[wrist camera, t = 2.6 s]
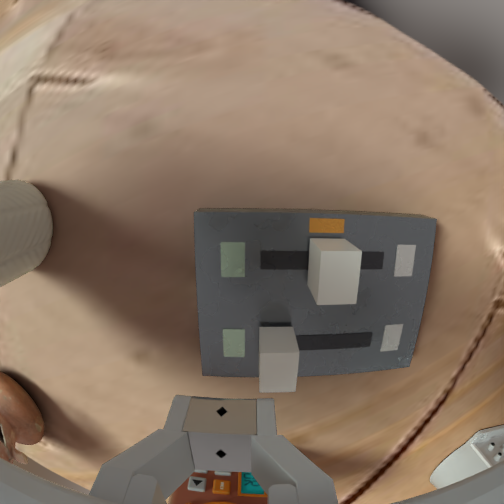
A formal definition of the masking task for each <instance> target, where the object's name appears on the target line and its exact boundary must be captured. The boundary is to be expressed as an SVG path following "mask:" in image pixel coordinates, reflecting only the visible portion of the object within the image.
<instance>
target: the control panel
mask: <svg viewBox="0 0 504 504" xmlns="http://www.w3.org/2000/svg"><path fill="white" fill-rule="evenodd" d="M267 500H268V495H267V494H266V492H265V491H264V490H263V489H262V487H261V486H260V485H259V483H258V482H257V481H256V479H255V478H254V477H253V475H252V474H251V472H231V471H210V470H195V471H194V472H193V473H192V474H191V475H190V476H189V477H188V478H187V479H186V480H185V481H184V482H183V483H182V484H181V485H180V486H179V487H178V488H177V489H176V490H175V491H174V492H173V493H172V494H171V495H170V496H169V501H168V504H267Z"/></svg>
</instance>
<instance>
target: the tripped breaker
mask: <svg viewBox="0 0 504 504" xmlns="http://www.w3.org/2000/svg"><path fill="white" fill-rule="evenodd" d="M361 256H362V251H361V250H360V249H358V248H357V247H355V246H354V245H353V244H351V243H350V242H349V241H347V240H346V239H329V238H310V246H309V265H308V281H307V285H308V287H309V289H310V291H311V293H312V295H313V297H314V300H315V302H316V304H317V305H339V304H356V301H357V293H358V285H359V276H360V267H361Z"/></svg>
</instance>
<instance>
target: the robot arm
mask: <svg viewBox="0 0 504 504" xmlns="http://www.w3.org/2000/svg"><path fill="white" fill-rule="evenodd" d="M195 470H210V471H231V472H251V474H252V475H253V477H254V478H255V479H256V481H257V482H258V483H259V485H260V486H261V487H262V489H263V490H264V491H265V492H266V494H267V495H268V500H267V504H338V500H337V496H336V491H335V487H334V483H333V479H332V478H331V477H329V476H328V475H327V474H326V473H325V472H323V471H322V470H321V469H320V468H319V467H317V466H316V465H315V464H314V463H313V462H312V461H310V460H309V459H308V458H307V457H306V456H305V455H304V454H302V453H301V452H300V451H299V450H298V449H297V448H296V447H295V446H294V445H292V444H291V443H290V442H289V441H288V440H287V439H286V438H285V437H284V436H283V435H277V428H276V417H275V405H274V399H273V398H265V399H257V400H256V399H223V398H209V397H196V396H183V395H176V396H175V397H174V399H173V402H172V405H171V408H170V411H169V414H168V417H167V420H166V423H165V426H164V429H158V430H156V431H155V432H153V433H152V434H150V435H149V436H147V437H146V438H144V439H143V440H141V441H140V442H138V443H136V444H135V445H133V446H132V447H130V448H129V449H127V450H125V451H124V452H122V453H121V454H119V455H117V456H116V457H114V458H112V459H111V460H109V461H107V462H106V463H104V464H102V467H101V469H100V471H99V473H98V475H97V478H96V480H95V482H94V484H93V486H92V489H91V491H90V493H89V495H87V494H84V493H81V492H78V491H75V490H72V489H69V488H67V487H64V486H61V485H59V484H56V483H54V482H51V481H48V480H46V479H44V478H41V477H39V476H37V475H35V474H32V473H30V472H28V471H26V470H24V469H21V468H19V467H17V466H15V465H13V464H11V463H9V462H8V461H6V460H4V459H2V458H0V504H167V503H166V501H165V500H166V499H167V498H168V497H169V496H170V495H171V494H172V493H173V492H174V491H175V490H176V489H177V488H178V487H179V486H180V485H181V484H182V483H183V482H184V481H185V480H186V479H187V478H188V477H189V476H190V475H191V474H192V473H193V472H194V471H195ZM430 482H431V484H433V485H434V486H435V487H436V488H437V490H434V491H431V492H428V493H425V494H422V495H419V496H416V497H413V498H409V499H406V500H402V501H399V502H395V503H391V504H504V425H501V426H497V427H493V428H488V429H484V430H480V431H478V432H477V433H476V434H475V435H474V436H473V437H472V438H471V439H470V440H469V441H468V442H466V443H465V444H464V445H463V446H461V447H460V448H458V449H457V450H456V451H454V452H453V453H452V454H451V455H449V456H448V457H447V458H446V459H445V460H444V461H443V462H442V463H441V464H440V465H439V466H438V467H437V468H436V469H435V470H434V472H433V473H432V475H431V477H430Z"/></svg>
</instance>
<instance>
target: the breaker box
mask: <svg viewBox="0 0 504 504" xmlns="http://www.w3.org/2000/svg"><path fill="white" fill-rule="evenodd" d="M436 221H437V219H435V218H431V217H428V216H424V215H418V214H402V213H385V212H365V211H342V210H312V209H262V208H200V209H198V210H197V211H195V212H194V237H195V265H196V287H197V306H198V322H199V337H200V350H201V362H202V374H203V376H222V377H259V327H293V328H294V332H295V336H296V340H297V344H298V348H299V352H300V353H299V364H298V374H297V377H299V376H321V375H336V374H349V373H361V372H371V371H380V370H388V369H396V368H404V367H409V366H410V363H411V359H412V355H413V352H414V348H415V344H416V340H417V336H418V332H419V327H420V323H421V319H422V314H423V309H424V304H425V299H426V294H427V288H428V283H429V277H430V270H431V264H432V257H433V249H434V241H435V231H436ZM310 238H329V239H346V240H347V241H349V242H350V243H351V244H353V245H354V246H355V247H357V248H358V249H360V250H361V251H362V256H361V267H360V276H359V285H358V293H357V301H356V304H339V305H317V304H316V302H315V300H314V297H313V295H312V293H311V291H310V289H309V287H308V285H307V281H308V265H309V246H310Z"/></svg>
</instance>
